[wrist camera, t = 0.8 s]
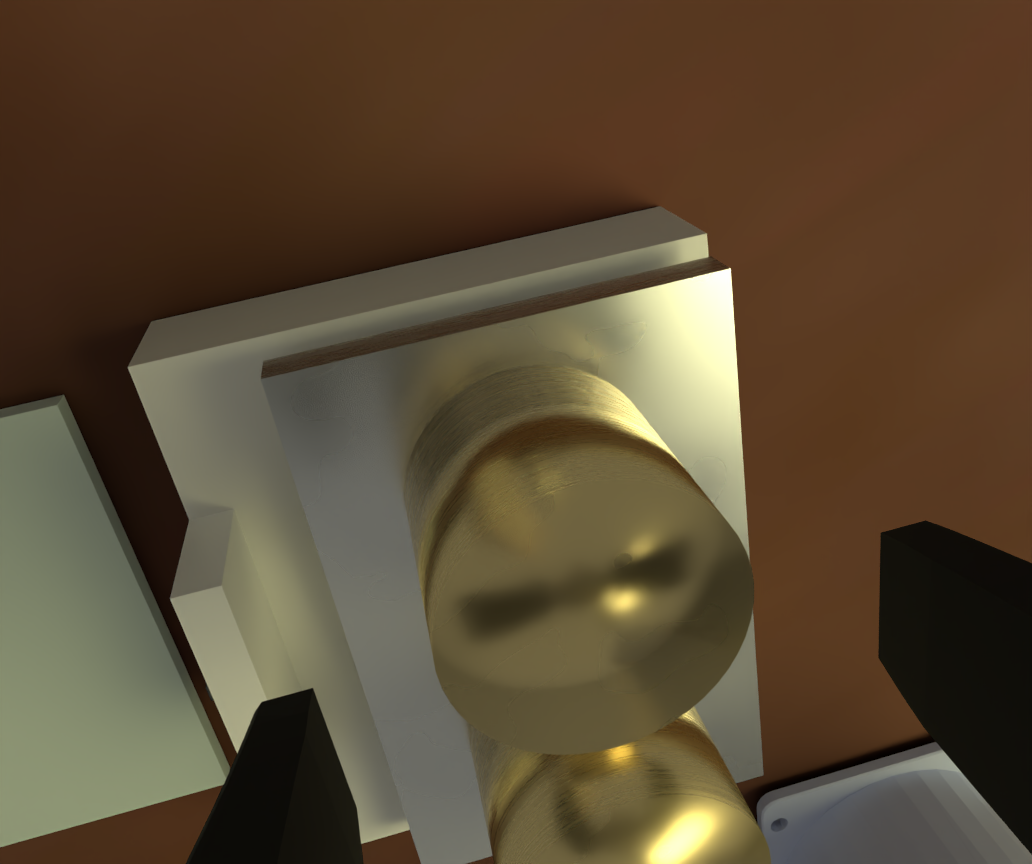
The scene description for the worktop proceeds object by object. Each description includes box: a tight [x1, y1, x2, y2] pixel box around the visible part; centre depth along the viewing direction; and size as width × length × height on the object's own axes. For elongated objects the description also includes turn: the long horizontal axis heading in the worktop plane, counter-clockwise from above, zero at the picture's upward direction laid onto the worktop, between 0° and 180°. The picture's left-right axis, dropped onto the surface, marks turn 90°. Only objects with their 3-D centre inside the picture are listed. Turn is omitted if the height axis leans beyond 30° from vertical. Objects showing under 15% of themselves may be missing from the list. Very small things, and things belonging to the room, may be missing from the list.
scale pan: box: [261, 256, 763, 864], centre depth 17 cm, size 12×8×1 cm, turn 10°
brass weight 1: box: [404, 365, 754, 755], centre depth 14 cm, size 4×4×4 cm
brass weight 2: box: [470, 706, 771, 864], centre depth 16 cm, size 4×4×4 cm
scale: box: [128, 206, 708, 844], centre depth 18 cm, size 12×10×5 cm
